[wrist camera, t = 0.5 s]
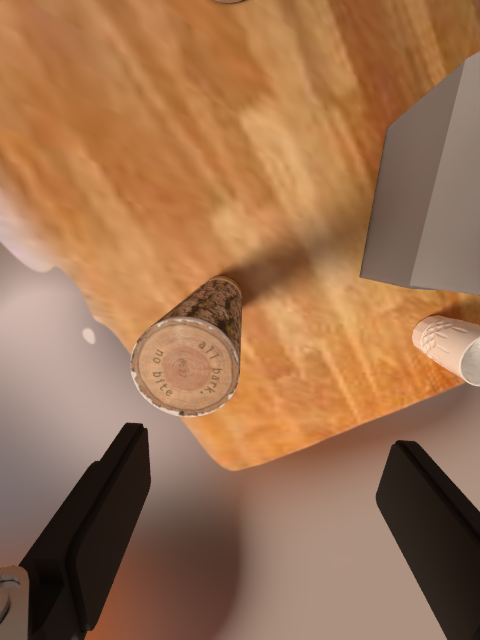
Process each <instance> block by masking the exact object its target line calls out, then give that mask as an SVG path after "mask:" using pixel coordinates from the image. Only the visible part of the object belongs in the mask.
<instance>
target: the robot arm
mask: <svg viewBox="0 0 480 640" xmlns="http://www.w3.org/2000/svg"><path fill="white" fill-rule="evenodd" d="M214 1H217V2H222V3H233V2H239V1H242V0H214ZM150 484H151V476H150V460H149V444H148V430H147V428H144V427H143V424H140V423H126V424H125V425H124V426H123V428H122V429H121V430H120V432H119V433H118V435H117V436H116V438H115V439H114V441H113V442H112V444H111V445H110V447H109V448H108V450H107V451H106V452H105V454H104V455H103V457H102V458H101V460H100V461H95V462H94V463H92V464H91V465H90V466H89V467H88V469H87V470H86V471H85V473H84V474H83V476H82V477H81V478H80V480H79V481H78V483H77V484H76V486H75V487H74V488H73V490H72V491H71V493H70V494H69V495H68V497H67V498H66V500H65V501H64V502H63V504H62V505H61V507H60V508H59V510H58V511H57V512H56V513H55V515H54V516H53V518H52V519H51V521H50V522H49V524H48V525H47V526H46V527H45V529H44V530H43V532H42V533H41V535H40V536H39V537H38V539H37V540H36V542H35V543H34V544H33V546H32V547H31V549H30V550H29V551H28V553H27V554H26V556H25V557H24V558H23V560H22V561H21V563H20V564H19V565H18V566H15V565H12V566H8V567H2V568H0V640H84V638H85V636H86V633H87V631H92V630H93V629H94V627H95V625H96V624H97V622H98V619H99V617H100V614H101V612H102V609H103V607H104V604H105V602H106V599H107V596H108V594H109V591H110V589H111V586H112V584H113V581H114V579H115V576H116V574H117V571H118V569H119V566H120V563H121V561H122V558H123V556H124V553H125V551H126V548H127V545H128V543H129V541H130V538H131V535H132V533H133V530H134V528H135V525H136V523H137V520H138V518H139V515H140V512H141V510H142V507H143V505H144V502H145V500H146V497H147V495H148V492H149V489H150ZM376 502H377V505H378V507H379V509H380V511H381V513H382V515H383V517H384V519H385V521H386V523H387V525H388V527H389V528H390V531H391V532H392V534H393V536H394V538H395V540H396V542H397V544H398V546H399V548H400V550H401V552H402V553H403V555H404V557H405V559H406V561H407V563H408V565H409V567H410V569H411V571H412V573H413V574H414V577H415V578H416V580H417V582H418V584H419V586H420V588H421V590H422V592H423V594H424V595H425V597H426V599H427V601H428V603H429V605H430V607H431V609H432V611H433V613H434V615H435V617H436V619H437V621H438V622H439V624H440V626H441V628H442V630H443V632H444V634H445V636H446V638H447V640H480V512H479V511H478V509H477V508H476V507H475V506H474V505H473V504H472V503H471V502H470V501H469V500H468V499H467V497H466V496H465V495H464V494H463V493H462V492H461V491H460V489H459V488H458V487H457V486H456V485H455V484H454V483H453V482H452V481H451V480H450V478H449V477H448V476H447V475H446V474H445V473H444V472H443V471H442V470H441V468H440V467H439V466H438V465H437V464H436V463H435V462H434V461H433V460H432V458H431V457H430V456H429V455H428V454H427V453H426V452H425V451H424V449H422V447H421V446H420V445H419V444H418V443H417V442H414V441H403V440H398V441H396V443H395V444H393V445H392V446H391V449H390V453H389V456H388V459H387V462H386V465H385V468H384V471H383V475H382V477H381V480H380V484H379V487H378V490H377V493H376Z"/></svg>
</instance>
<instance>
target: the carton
mask: <svg viewBox="0 0 480 640" xmlns="http://www.w3.org/2000/svg"><path fill="white" fill-rule="evenodd" d="M470 57H471V56H470ZM464 64H465V61H464V62H463V63H462V64H461V65H460V66H458V67H457V68H456V69H455V70H454V71H453V72H451V73H450V74H449V75H448V76H447V77H446V78H445V79H443V80H442V81H441V82H440V83H439V84H438V85H436V86H435V87H434V88H433V89H432V90H431V91H429V92H428V93H427V94H426V95H425V96H424V97H422V98H421V99H420V100H419V101H418V102H417V103H415V104H414V105H413V106H412V107H411V108H410V109H408V110H407V111H406V112H405V113H404V114H403V115H402V116H400V117H399V118H398V119H397V120H396V121H395V122H393V123H392V124H391V125H390V126H389V127H388V128H387V131H386V136H385V142H384V147H383V153H382V158H381V164H380V169H379V174H378V180H377V185H376V191H375V196H374V201H373V207H372V212H371V218H370V223H369V228H368V234H367V239H366V245H365V250H364V256H363V261H362V266H361V272H360V277H361V278H365V279H370V280H374V281H379V282H383V283H388V284H392V285H396V286H401V287H405V288H410V289H426V290H438V289H431V288H424V287H417V286H410V281H411V277H412V273H413V269H414V265H415V261H416V257H417V253H418V249H419V245H420V241H421V237H422V233H423V229H424V225H425V221H426V217H427V213H428V209H429V205H430V201H431V197H432V192H433V188H434V184H435V180H436V176H437V172H438V168H439V164H440V160H441V156H442V152H443V148H444V144H445V140H446V136H447V132H448V128H449V124H450V120H451V116H452V112H453V108H454V104H455V100H456V96H457V92H458V88H459V84H460V80H461V76H462V72H463V68H464Z"/></svg>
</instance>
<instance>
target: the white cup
mask: <svg viewBox="0 0 480 640" xmlns="http://www.w3.org/2000/svg"><path fill="white" fill-rule="evenodd" d="M412 341H413V345H414V346H415V347H416V348H417V349H418V350H419V351H421V352H423V353H424V354H426V355H427V356H428V357H429V358H431V359H432V360H434V361H435V362H437V363H438V364H440V365H441V366H443V367H444V368H446V369H447V370H449V371H451V372H452V373H454V374H455V375H457V376H458V377H460V378H461V379H463V380H464V381H466V382H468V383H470V384H472V385H475V386H480V325H479V324H476V323H471V322H467V321H463V320H459V319H452V318H448V317H444V316H440V315H434V316H428V317H427V318H425V319H423V320H422V321H420V322H419V323H418V324H417V326H416V327H415V328H414V331H413V334H412Z"/></svg>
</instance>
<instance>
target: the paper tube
mask: <svg viewBox="0 0 480 640" xmlns="http://www.w3.org/2000/svg"><path fill="white" fill-rule="evenodd" d="M241 322H242V292H241V289H240V287H239V285H238V284H237V283H236V282H235V281H234V280H233V279H231V278H229V277H226V276H216V277H213V278H211V279H209V280H208V281H207V282H205V283H204V284H203V285H202V286H200V287H199V288H198V289H197V290H195V291H194V292H193V293H192V294H190V295H189V296H188V297H187V298H186V299H184V300H183V301H182V302H181V303H179V304H178V305H177V306H176V307H174V308H173V309H172V310H171V311H170V312H168V313H167V314H166V315H165V316H163V317H162V318H161V319H160V320H158V321H157V322H156V323H155V324H154V325H152V326H151V327H150V328H149V329H148V330H146V332H145V333H144V334H143V335H142V336H141V337H140V338H139V339H138V341H137V343H136V344H135V346H134V349H133V351H132V355H131V365H130V366H131V374H132V378H133V380H134V383H135V385H136V387H137V389H138V390H139V392H140V393H141V394H142V396H143V397H144V398H145V399H146V400H147V401H148V402H149V403H151V404H152V405H153V406H155V407H156V408H158V409H160V410H162V411H164V412H166V413H169V414H172V415H176V416H182V417H196V416H202V415H206V414H209V413H211V412H214V411H215V410H217V409H219V408H220V407H222V406H223V405H224V404H225V403H226V402H227V401H228V400H229V399H230V398H231V396H232V395H233V393H234V392H235V389H236V387H237V384H238V380H239V374H240V352H241Z"/></svg>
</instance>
